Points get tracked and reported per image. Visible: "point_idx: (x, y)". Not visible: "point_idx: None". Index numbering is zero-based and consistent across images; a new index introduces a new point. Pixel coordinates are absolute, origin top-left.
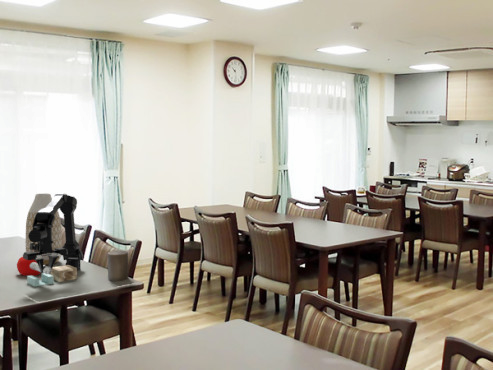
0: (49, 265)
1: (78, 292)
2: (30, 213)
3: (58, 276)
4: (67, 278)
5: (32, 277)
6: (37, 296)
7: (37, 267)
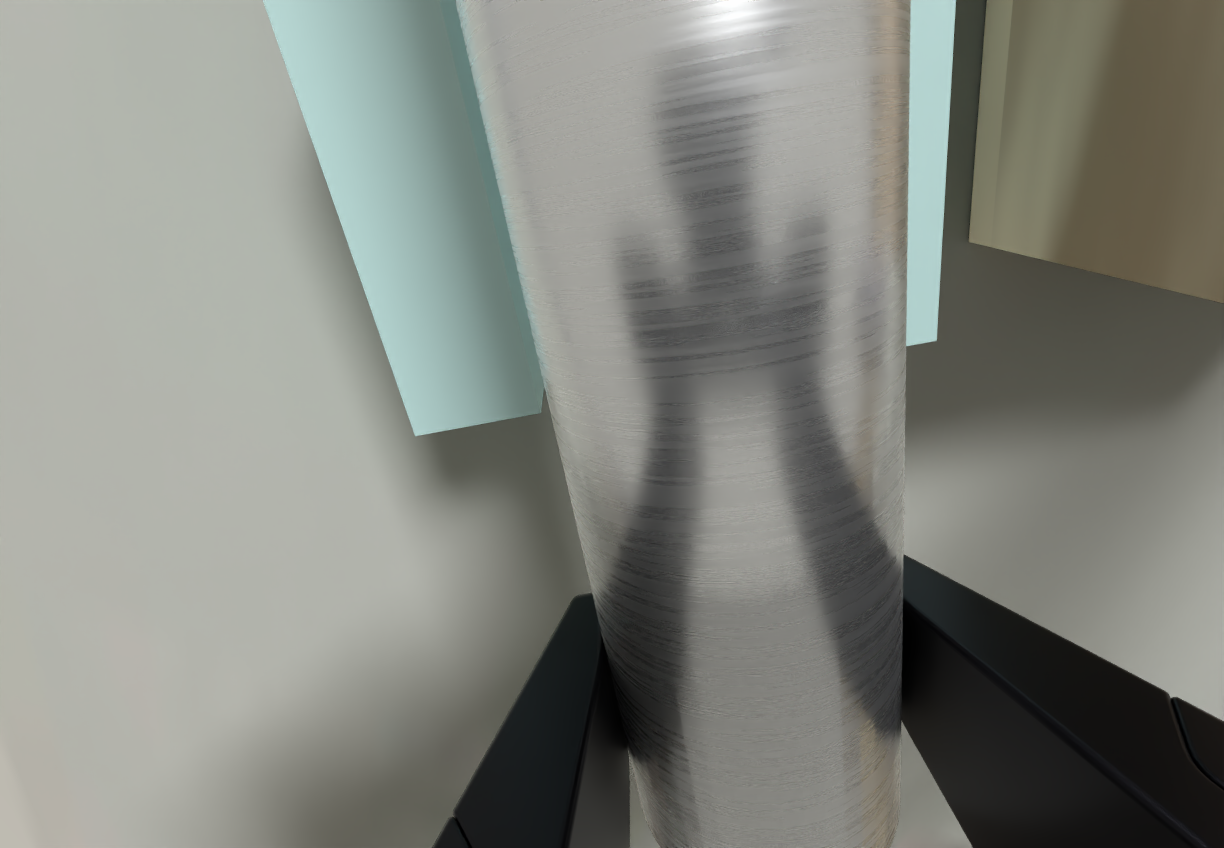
0: (983, 726)
1: (917, 792)
2: None
3: (1081, 230)
4: None
5: (380, 200)
6: (439, 759)
7: (511, 232)
